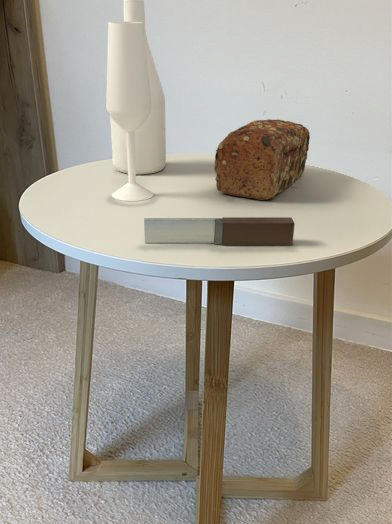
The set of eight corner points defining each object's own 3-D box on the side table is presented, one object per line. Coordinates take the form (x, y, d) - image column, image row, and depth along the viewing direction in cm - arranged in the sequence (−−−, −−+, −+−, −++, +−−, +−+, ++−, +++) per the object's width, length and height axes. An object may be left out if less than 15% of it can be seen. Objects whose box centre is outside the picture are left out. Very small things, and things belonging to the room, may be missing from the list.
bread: (273, 204, 92) (278, 136, 87) (209, 194, 96) (211, 128, 91) (308, 175, 106) (315, 115, 101) (252, 167, 110) (255, 109, 105)
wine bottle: (165, 162, 113) (162, -26, 97) (166, 175, 105) (163, -27, 89) (114, 162, 112) (103, -27, 97) (111, 175, 104) (99, -29, 89)
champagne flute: (121, 186, 98) (112, 20, 86) (159, 190, 97) (156, 22, 84) (104, 198, 93) (92, 22, 80) (145, 202, 91) (139, 24, 79)
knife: (289, 239, 79) (291, 215, 77) (292, 245, 77) (294, 221, 76) (145, 239, 78) (144, 215, 77) (144, 245, 76) (143, 221, 75)
